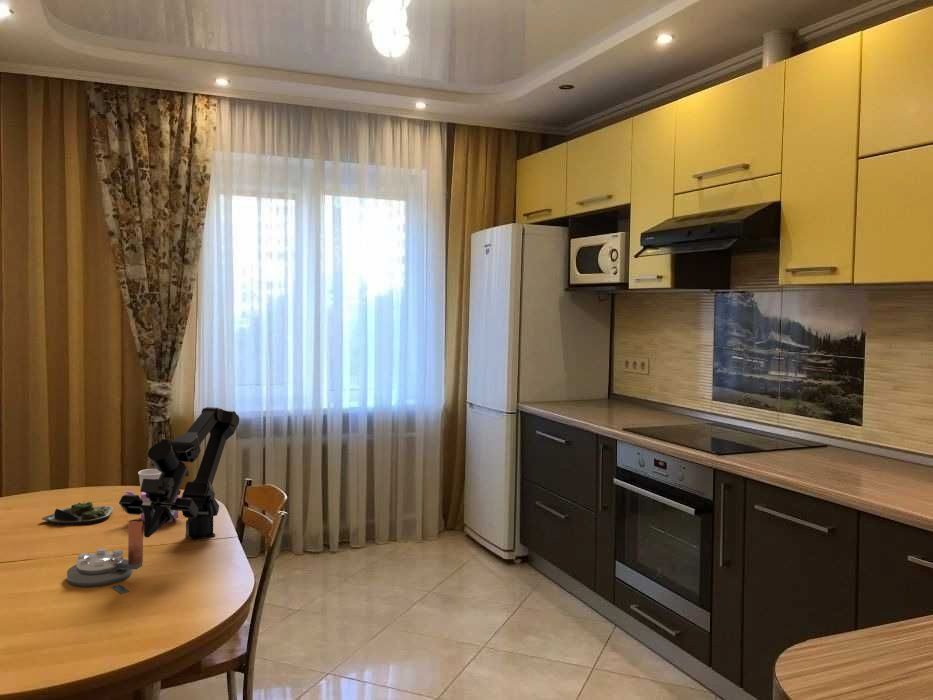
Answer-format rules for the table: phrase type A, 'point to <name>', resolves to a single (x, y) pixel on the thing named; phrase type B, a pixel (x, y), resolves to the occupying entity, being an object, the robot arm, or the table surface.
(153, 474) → the dixie cup
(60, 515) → the salad plate
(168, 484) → the robot arm
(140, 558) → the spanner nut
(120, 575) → the flange base
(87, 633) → the table surface
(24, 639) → the table surface
